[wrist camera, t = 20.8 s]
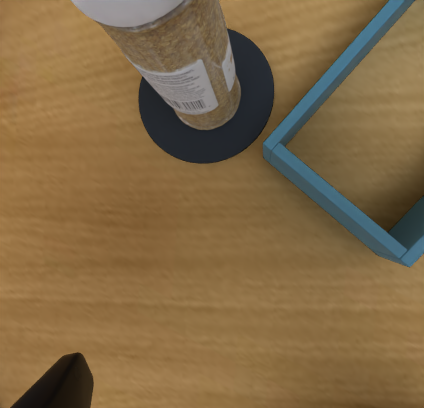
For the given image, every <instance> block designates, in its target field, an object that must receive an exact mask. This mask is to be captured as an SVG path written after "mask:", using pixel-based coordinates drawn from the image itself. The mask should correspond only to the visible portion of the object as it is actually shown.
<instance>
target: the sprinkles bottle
mask: <svg viewBox="0 0 424 408" xmlns="http://www.w3.org/2000/svg"><path fill="white" fill-rule="evenodd" d="M71 1H72V2H73V3H74V4H75V6H76V7H77V8H78V9H79V10H80V11H82V12H83V13H84V14H85V15H87V16H88V17H90V18H91V19H93V20H94V21H95V22H97V23H98V24H100V25H101V26H102V27H103V28H104V30H105V31H106V32H107V33H108V34H109V35H110V37H111V38H112V39H113V40H114V41H115V43H116V44H117V45H118V46H119V47H120V49H121V51H122V52H123V54H124V55H125V56H126V58H127V59H128V60H129V61H130V62H131V63H132V64H133V65H134V67H135V68H136V69H137V70H138V71H139V72H140V73H141V75H142V76H143V77H144V78H145V79H146V80H147V81H148V82H149V84H150V85H151V86H152V87H153V88H154V89H155V90H156V91H157V92H158V94H159V95H160V96H161V97H162V98H163V99H164V100H165V101H166V102H167V103H168V104H169V105H170V106H171V107H173V108H174V111H175V112H176V114H177V116H178V117H179V118H180V120H181V121H182V122H184V123H185V124H186V125H189V126H190V127H192V128H196V129H198V130H211V129H214V128H217V127H220V126H222V125H223V124H225V123H226V122H227V121H229V120H230V119H231V118H232V117H233V116H234V114H235V112H236V111H237V109H238V106H239V102H240V97H241V87H240V83H239V80H238V78H237V76H236V73H235V64H234V59H233V54H232V49H231V45H230V41H229V36H228V32H227V28H226V23H225V19H224V15H223V12H222V9H221V6H220V3H219V0H71Z"/></svg>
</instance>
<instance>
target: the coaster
mask: <svg viewBox="0 0 424 408" xmlns="http://www.w3.org/2000/svg"><path fill="white" fill-rule="evenodd" d="M227 32H228V36H229V41H230V45H231V49H232V54H233V59H234V64H235V73H236V76H237V78H238V80H239V83H240V87H241V97H240V102H239V106H238V109H237V111H236V112H235V114H234V116H233V117H232V118H231V119H230V120H229V121H227V122H226V123H225V124H223V125H222V126H220V127H217V128H214V129H211V130H198V129H196V128H192V127H190V126H189V125H186V124H185V123H184V122H182V121H181V120H180V118H179V117H178V116H177V114H176V112H175V111H174V108H173V107H171V106H170V105H169V104H168V103H167V102H166V101H165V100H164V99H163V98H162V97H161V96H160V95H159V94H158V92H157V91H156V90H155V89H154V88H153V87H152V86H151V85H150V84H149V82H148V81H147V80H146V79H145V78H144V77H143V76H142V79H141V83H140V89H139V110H140V114H141V118H142V121H143V124H144V126H145V128H146V130H147V132H148V134H149V135H150V137H151V138H152V139H153V141H154V142H155V143H156V144H157V145H158V146H159V147H160V148H162V149H163V150H164V151H165V152H167V153H168V154H170V155H172V156H174V157H176V158H178V159H181V160H183V161H187V162H192V163H214V162H219V161H222V160H226V159H228V158H230V157H233V156H235V155H236V154H238V153H240V152H242V151H243V150H244V149H246V148H247V147H248V146H249V145H250V144H251V143H252V142H253V141H254V140H255V139H256V138H257V137H258V136H259V134H260V133H261V132H262V130H263V128H264V127H265V125H266V123H267V121H268V118H269V116H270V113H271V110H272V106H273V99H274V83H273V76H272V72H271V69H270V66H269V64H268V62H267V60H266V58H265V56H264V55H263V53H262V52H261V51H260V49H259V48H258V47H257V46H256V45H255V44H254V43H253V42H252V41H251V40H250V39H248V38H247V37H245V36H244V35H242V34H240V33H238V32H236V31H233V30H230V29H227Z"/></svg>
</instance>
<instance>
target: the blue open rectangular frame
mask: <svg viewBox="0 0 424 408" xmlns="http://www.w3.org/2000/svg"><path fill="white" fill-rule="evenodd" d="M414 1H415V0H389V1H388V2H387V3H386V4H385V6H384V7H383V8H382V9H381V10H380V11H379V12H378V13H377V15H376V16H375V17H374V18H373V19H372V20H371V21H370V23H369V24H368V25H367V26H366V27H365V28H364V29H363V30H362V32H361V33H360V34H359V35H358V36H357V37H356V38H355V39H354V41H353V42H352V43H351V44H350V45H349V46H348V47H347V49H346V50H345V51H344V52H343V53H342V54H341V55H340V56H339V58H338V59H337V60H336V61H335V62H334V63H333V64H332V65H331V67H330V68H329V69H328V70H327V71H326V72H325V73H324V75H323V76H322V77H321V78H320V79H319V80H318V81H317V82H316V84H315V85H314V86H313V87H312V88H311V89H310V90H309V91H308V93H307V94H306V95H305V96H304V97H303V98H302V99H301V101H300V102H299V103H298V104H297V105H296V106H295V107H294V108H293V110H292V111H291V112H290V113H289V114H288V115H287V116H286V118H285V119H284V120H283V121H282V122H281V123H280V124H279V125H278V127H277V128H276V129H275V130H274V131H273V132H272V133H271V134H270V136H269V137H268V138H267V139H266V140H265V141H264V142H263V158H264V159H265V160H267V161H268V162H269V163H270V164H271V165H272V166H274V167H275V168H276V169H277V170H278V171H279V172H281V173H282V174H283V175H284V176H285V177H286V178H288V179H289V180H290V181H291V182H292V183H294V184H295V185H296V186H297V187H298V188H299V189H301V190H302V191H303V192H304V193H305V194H306V195H308V196H309V197H310V198H311V199H312V200H313V201H315V202H316V203H317V204H318V205H319V206H321V207H322V208H323V209H324V210H325V211H326V212H328V213H329V214H330V215H331V216H332V217H333V218H335V219H336V220H337V221H338V222H339V223H340V224H342V225H343V226H344V227H345V228H346V229H347V230H349V231H350V232H351V233H352V234H353V235H355V236H356V237H357V238H358V239H359V240H360V241H362V242H363V243H364V244H365V245H366V246H367V247H369V248H370V249H372V251H373V252H374V253H376V254H377V255H378V256H380V257H383V258H385V259H388V260H391V261H394V262H396V263H399V264H402V265H404V266H407V267H411V266H412V265H413V264H414V263H415V262H416V261H417V260H418V259H419V257H420V256H421V255H422V254H423V253H424V196H423V197H422V198H421V199H420V200H419V201H418V202H417V203H416V204H415V205H414V206H413V207H412V208H411V209H410V210H409V211H408V212H407V213H406V214H405V215H404V216H403V217H402V218H401V220H400V221H399V222H398V223H397V224H396V225H395V226H394V227H393V228H392V229H391V230H390V231H389V232H388V233H387V232H386V231H385V230H384V229H382V228H381V227H380V226H379V225H378V224H376V223H375V222H374V221H373V220H372V219H370V218H369V217H368V216H367V215H366V214H364V213H363V212H362V211H361V210H360V209H358V208H357V207H356V206H355V205H354V204H352V203H351V202H350V201H349V200H348V199H346V198H345V197H344V196H343V195H342V194H340V193H339V192H338V191H337V190H336V189H334V188H333V187H332V186H331V185H330V184H329V183H327V182H326V181H325V180H324V179H323V178H321V177H320V176H319V175H318V174H317V173H315V172H314V171H313V170H312V169H311V168H309V167H308V166H307V165H306V164H305V163H303V162H302V161H301V160H300V159H299V158H297V157H296V156H295V155H294V154H293V153H291V152H290V151H289V150H288V149H287V148H285V145H286V144H287V143H288V142H289V141H290V140H291V139H292V138H293V137H294V135H295V134H296V133H297V132H298V131H299V130H300V129H301V128H302V126H303V125H304V124H305V123H306V122H307V121H308V120H309V119H310V117H311V116H312V115H313V114H314V113H315V112H316V111H317V110H318V109H319V107H320V106H321V105H322V104H323V103H324V102H325V101H326V100H327V98H328V97H329V96H330V95H331V94H332V93H333V92H334V91H335V90H336V88H337V87H338V86H339V85H340V84H341V83H342V82H343V81H344V79H345V78H346V77H347V76H348V75H349V74H350V73H351V72H352V70H353V69H354V68H355V67H356V66H357V65H358V64H359V63H360V62H361V60H362V59H363V58H364V57H365V56H366V55H367V54H368V53H369V51H370V50H371V49H372V48H373V47H374V46H375V45H376V44H377V42H378V41H379V40H380V39H381V38H382V37H383V36H384V35H385V34H386V32H387V31H388V30H389V29H390V28H391V27H392V26H393V25H394V23H395V22H396V21H397V20H398V19H399V18H400V17H401V16H402V14H403V13H404V12H405V11H406V10H407V9H408V8H409V7H410V6H411V4H412V3H413V2H414Z"/></svg>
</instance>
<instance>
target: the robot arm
mask: <svg viewBox="0 0 424 408" xmlns="http://www.w3.org/2000/svg"><path fill="white" fill-rule="evenodd" d="M93 385H94V382H93V376H92V373H91V371H90V369H89V367H88V365H87V362H86V360H85V358H84V356H83V355H82V354H81V353H78V352H77V353H72V354H68V355H64V356H62V357H61V358H60V359H59V360H58V361H57V362H56V363H55V364H54V365H53V366H52V367H51V368H50V369H49V370H48V371H47V372H46V373H45V374H44V375H43V376H42V377H41V378H40V379H39V380H38V381H37V382H36V383H35V384H34V385H33V386H32V387H31V388H30V389H29V390H28V391H27V392H26V393H25V394H24V395H23V396H22V397H21V398H20V399H19V400H18V401H17V402H16V403H15V404H13V405H12V406H11V407H10V408H90V407H91V400H92V393H93Z"/></svg>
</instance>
